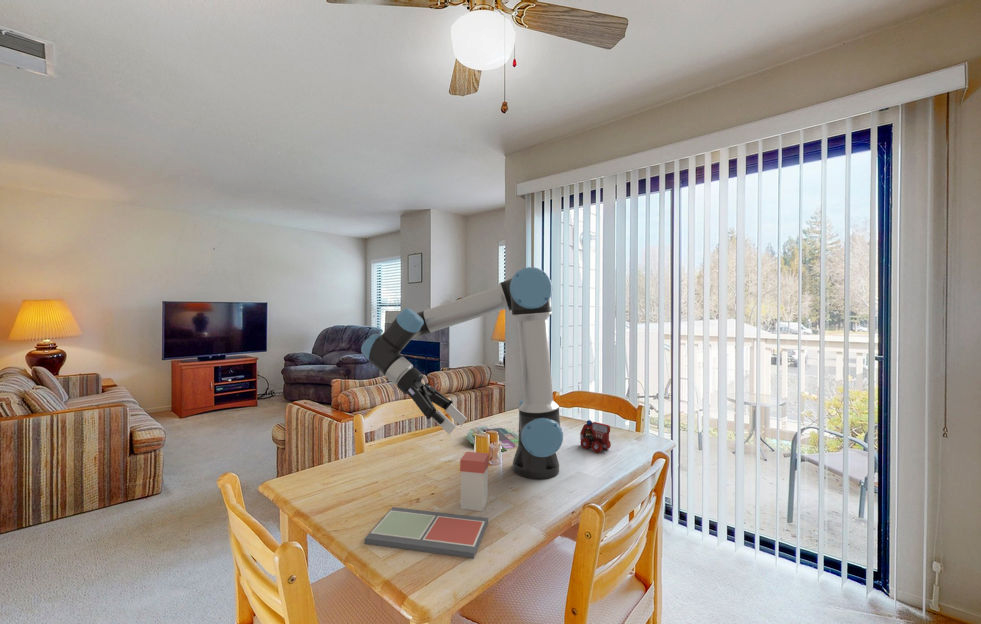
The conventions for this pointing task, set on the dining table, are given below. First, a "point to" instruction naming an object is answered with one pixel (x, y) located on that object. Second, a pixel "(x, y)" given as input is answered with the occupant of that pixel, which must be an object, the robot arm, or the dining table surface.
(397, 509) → the grey flat board
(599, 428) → the toy fire truck
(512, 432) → the city model
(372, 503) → the dining table surface
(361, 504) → the dining table surface
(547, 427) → the robot arm
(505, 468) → the dining table surface
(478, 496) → the block
